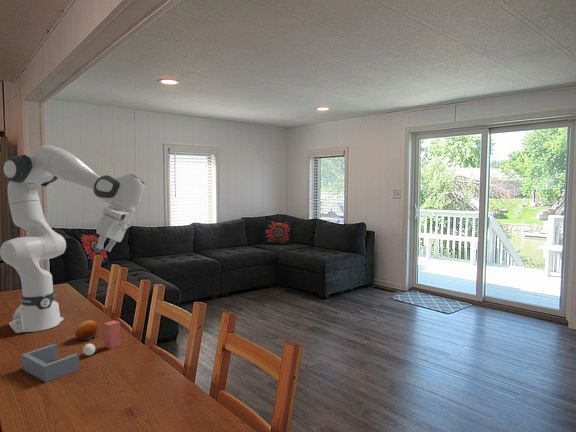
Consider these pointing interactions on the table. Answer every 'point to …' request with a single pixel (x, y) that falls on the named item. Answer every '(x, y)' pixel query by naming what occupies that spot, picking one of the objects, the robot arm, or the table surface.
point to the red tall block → (112, 334)
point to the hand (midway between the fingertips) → (103, 249)
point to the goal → (46, 372)
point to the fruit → (86, 330)
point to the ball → (89, 349)
